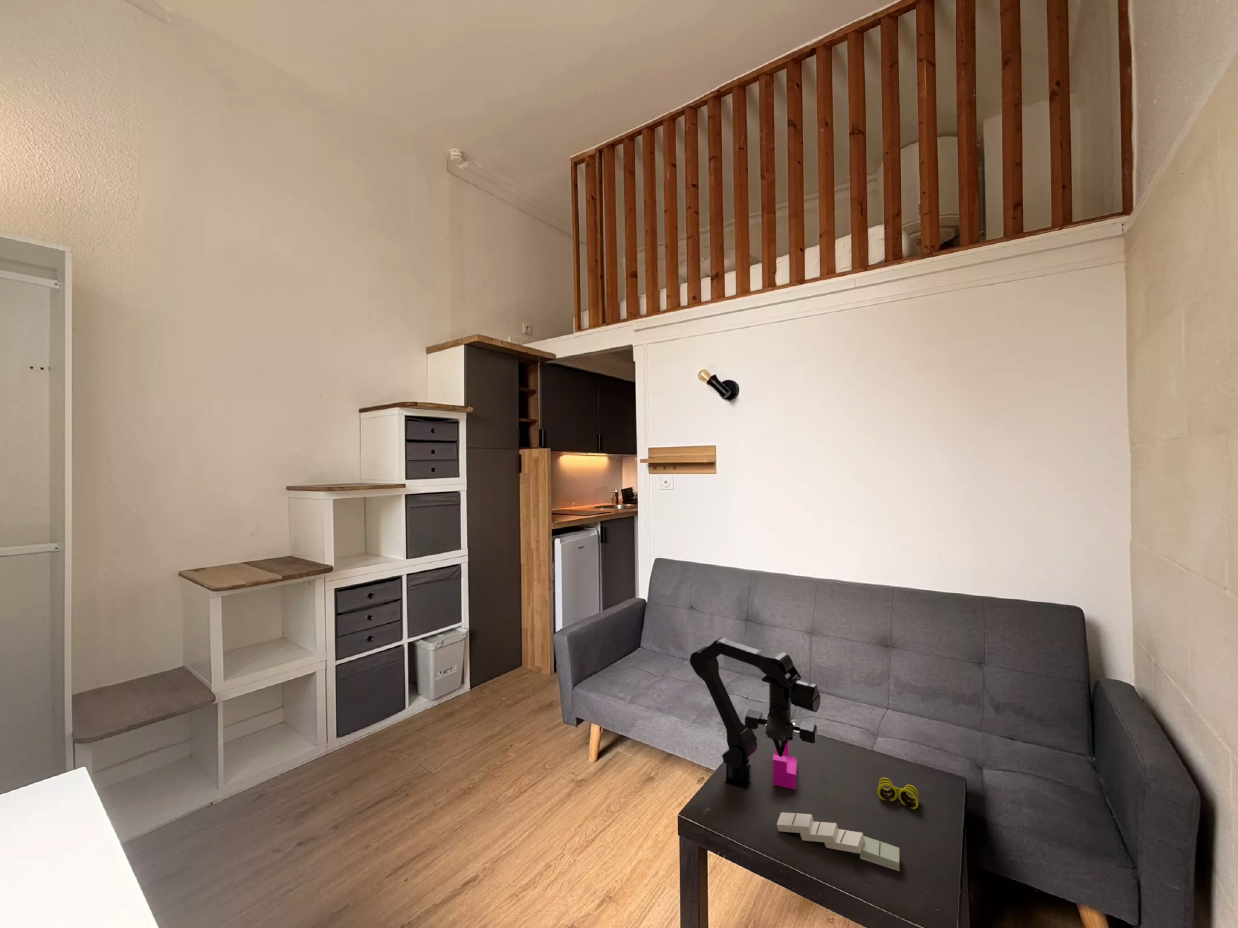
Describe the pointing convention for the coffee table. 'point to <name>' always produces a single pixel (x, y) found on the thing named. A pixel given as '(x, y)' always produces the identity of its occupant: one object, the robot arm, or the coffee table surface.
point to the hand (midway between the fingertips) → (780, 755)
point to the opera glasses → (902, 792)
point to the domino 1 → (795, 822)
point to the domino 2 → (822, 832)
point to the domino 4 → (877, 863)
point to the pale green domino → (880, 852)
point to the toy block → (784, 769)
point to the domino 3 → (847, 841)
